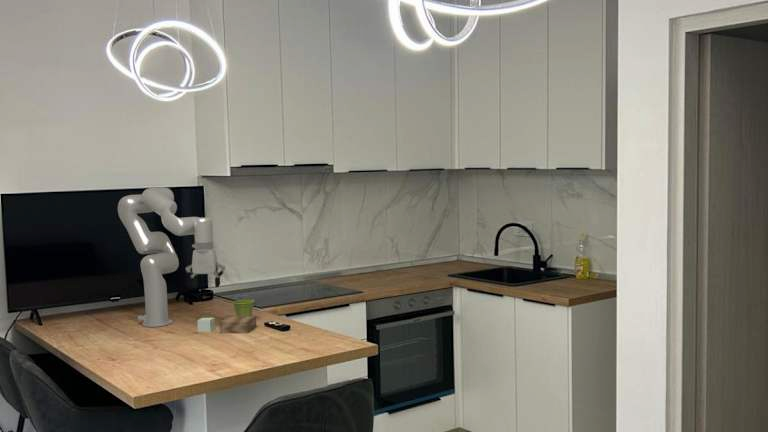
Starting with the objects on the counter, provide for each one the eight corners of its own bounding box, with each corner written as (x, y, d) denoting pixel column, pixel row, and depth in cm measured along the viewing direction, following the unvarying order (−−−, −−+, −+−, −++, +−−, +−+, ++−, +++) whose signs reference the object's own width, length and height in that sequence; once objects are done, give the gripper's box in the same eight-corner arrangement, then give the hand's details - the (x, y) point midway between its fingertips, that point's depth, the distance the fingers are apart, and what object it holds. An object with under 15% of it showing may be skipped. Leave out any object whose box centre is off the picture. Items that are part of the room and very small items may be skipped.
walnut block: (219, 334, 304) (219, 322, 304) (229, 328, 316) (229, 316, 316) (247, 334, 303) (247, 322, 302) (256, 327, 315) (255, 316, 314)
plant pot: (243, 323, 323) (242, 304, 323) (229, 321, 329) (228, 302, 328) (259, 319, 331) (258, 300, 330) (245, 317, 336) (244, 299, 336)
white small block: (198, 332, 309) (197, 320, 309) (202, 329, 314) (202, 317, 314) (210, 332, 308) (209, 320, 308) (215, 329, 314) (214, 317, 313)
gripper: (181, 248, 307) (183, 288, 308) (221, 247, 305) (223, 288, 306) (188, 246, 314) (190, 285, 315) (227, 245, 312) (229, 285, 313)
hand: (206, 286), depth 311 cm, fingers open, 9 cm apart
